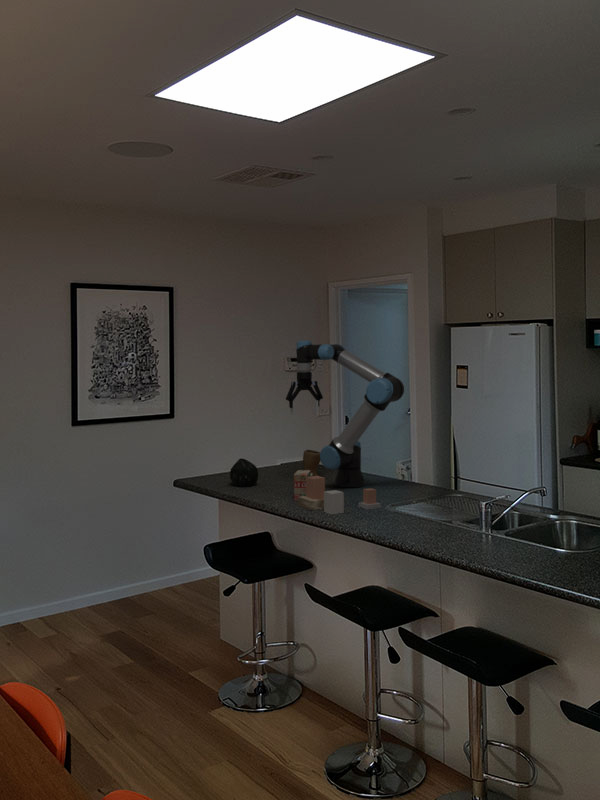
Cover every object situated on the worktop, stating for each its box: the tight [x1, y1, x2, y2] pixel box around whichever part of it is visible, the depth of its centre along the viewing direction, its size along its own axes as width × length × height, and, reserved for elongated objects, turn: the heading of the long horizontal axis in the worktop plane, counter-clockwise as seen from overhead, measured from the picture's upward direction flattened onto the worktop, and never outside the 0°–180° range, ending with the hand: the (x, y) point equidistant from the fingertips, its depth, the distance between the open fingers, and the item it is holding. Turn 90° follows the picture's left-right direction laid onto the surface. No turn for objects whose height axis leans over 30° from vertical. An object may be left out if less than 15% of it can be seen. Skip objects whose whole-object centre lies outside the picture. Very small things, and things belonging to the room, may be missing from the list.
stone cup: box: [294, 449, 321, 476], centre depth 409 cm, size 15×12×15 cm
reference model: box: [358, 487, 382, 511], centre depth 329 cm, size 7×7×8 cm
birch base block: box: [296, 496, 324, 511], centre depth 332 cm, size 12×12×4 cm
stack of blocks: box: [293, 469, 313, 501], centre depth 357 cm, size 21×6×12 cm, turn 171°
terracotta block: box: [306, 475, 326, 500], centre depth 332 cm, size 6×6×9 cm
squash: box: [229, 458, 259, 487], centre depth 387 cm, size 14×15×15 cm
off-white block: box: [323, 489, 345, 515], centre depth 319 cm, size 6×6×9 cm
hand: (304, 413), depth 380 cm, fingers open, 13 cm apart
